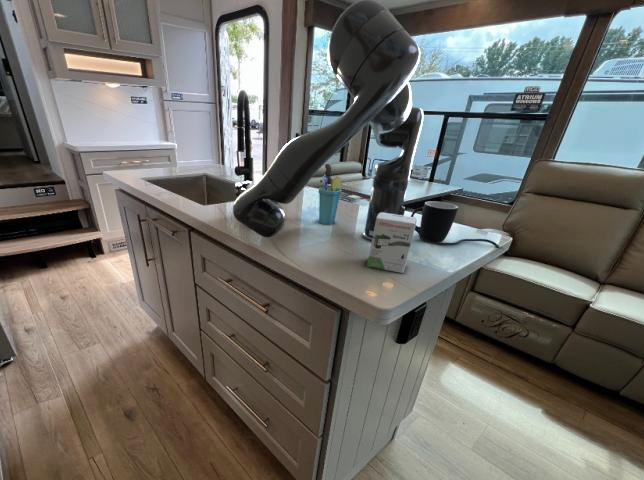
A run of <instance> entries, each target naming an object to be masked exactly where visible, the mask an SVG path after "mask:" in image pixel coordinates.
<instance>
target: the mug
mask: <svg viewBox="0 0 644 480" xmlns="http://www.w3.org/2000/svg"><path fill="white" fill-rule="evenodd" d="M458 210H459V206H458V205H456V204H454V203H450V202H445V201H435V200H434V201H433V200H432V201H431V200H430V201H425V202H424V204H423V206H421V207H418V208H416V209H414V210H413V211H412V213H411V215H410V217H414V216H415V214H416V213H417V212H420V211H422V212H421V213H422V214H421V219H420V226H418V225H416V226H415V228H417V229H418V230H419V231H420V232H421V235H422V237H423V238H424V239H426V240H428V241H431V242H440V243H443V242H444V240H445V239H446V238H447V237H448V235H449V234H450V230H451V229H452V226H453V224H454V221H455V219H456V217H457V213H458Z"/></svg>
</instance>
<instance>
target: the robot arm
mask: <svg viewBox="0 0 644 480" xmlns="http://www.w3.org/2000/svg"><path fill="white" fill-rule="evenodd" d="M420 58H421V50H420V47H419V45H418V44H417V43H416V41H415V40H414V39H413V38H412V36H411V35H410V34H409V33H408V31H407V30H406V29H405V28H404V26H403V25H401V23H400V22H399V21H398V20H397V18H396V17H395V16H394V15H393V13H391V11H390V10H389V8H387V6H385V5H384V4H383V3H382V2H380V1H378V0H357V1H355V2H354V3H352V4H351V5H349V6H348V7H347V8H346V9H345V10H343V12H342V13H341V14H340V15H339V17H338V19H337V20H336V22H335V24H334V25H333V28H332V31H331V33H330V36H329V40H328V45H327V60H328V65H329V67H330V69H331V71H332V72H333V75H334V76H335V78H337V80H338V81H339V82H340V83H341V85H342V86H343V87H344V88H345V89H346V91H347V92H348V93H349V95H350V96H351V97H352V98H353V102H352V103H351V105H350V106H349V107H348V108H347V109H346V111H345V112H344V113H343V114H342V115H340V116H339V117H338V118H336V119H335V120H334V121H332V122H330V123H329V124H326V125H324V126H322V127H319V128H317V129H314V130H311V131H309V132H305V133H303V134H300V135H298V136H297V137H294V138H293V139H291V140H290V141H289V142H288V143H286V144H285V145H284V146H283V147H282V148H281V150H280V151H279V152H278V154H277V156H276V157H275V158H274V160H273V161H272V163H271V164H270V166H269V167H268V168H267V170H266V172H265V173H264V174H263V175H262V176H261V177H257V178H255V179H252V181H250V180H246V181H243V182H242V183H241V182H239V181H236V182H235V197H236V199H235V200H234V202H233V205H232V214H233V217H234V218H235V220H237V221H238V222H239V223H240V224H242V225H244V226H245V227H247V228H248V229H249V230H251V231H253V232H254V233H256V234H257V235H258V236H260V237H263V238H267V239H269V238H274V237H276V236H277V235H278V234H279V233H280V232H281V231H282V229H283V228H284V225H285V221H286V212H285V210H284V208H283V206H282V205H289V204H291V203H292V202H293V201H294V200H295V199H296V198H297V197H298V195H299V194H300V193H301V192H302V191H303V189H304V188H305V187H306V186H307V184H308V183H309V182H310V181H311V180H312V178H313V177H314V176H315V174H317V173H318V171H319V170H320V169H321V168H322V167H323V166H324V165H325V164H326V163H327V162H328V161H329V160H331V158H332V157H334V155H335V154H337V153H338V152H339V151H340V150H341V149H342V148H344V146H346V145H347V144H348V143H349V142H350V141H351V140H352V139H353V138H354V137H356V135H358V133H360V131H361V130H363V128H365V127H366V126H367V125H369V127H370V128H371V130H372V133H373V137H374V139H375V143H376V144H377V145H378V146H379V147H381V148H385V149H399V150H401V153H400V154H399V155H398V156H396V157H393V158H392V159H390V160H386V161H382V162H380V163H377V164H376V165H375V168H374V172H373V178H372V185H371V191H370V197H369V202H368V210H367V214H366V221H365V226H364V232H363V237H364V238H365V239H367V240H369V241H372V238H373V233H374V228H375V223H376V218H377V216H378V214H379V213H389V214H395V215H402V216H405V211H406V207H405V206H404V202H405V199H406V193H407V188H408V185H409V181H410V176H411V170H412V167H413V166H412V165H413V162H414V158H415V157H414V156H415V153H416V149H417V145H418V142H419V138H420V135H421V131H422V127H423V122H424V111H423V109H422V108H421V107H416V106H415V107H414V106H413V95H412V87H411V85H410V82H409V81H410V79H411V78H412V76H413V75H414V73H415V71H416V69H417V67H418V65H419V62H420ZM414 232H416V233H417V234H418V237H419V238H420V240H421V241H423V242H425V243H428V244H432V245H437V246H456V245H459V244H460V243H462V242H485V243H489V244H491V245H493V246H494V247H495V248H496V249H500V246H499V244H498V243H496V242H495V241H493V240H490V239H486V238H463V239H462V238H461V239H459V240H457V241H455V242H454V241H453V242H431V241H428V240H426V239H424V238H423V237H422V235H421V232H420V231H419V230H418V229H417V228H415V230H414Z"/></svg>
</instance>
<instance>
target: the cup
mask: <svg viewBox="0 0 644 480" xmlns="http://www.w3.org/2000/svg"><path fill="white" fill-rule="evenodd" d="M319 182H320V184H321V183H323V182H324V186H321V187H318V194H319V195H318V196H319V197H318V198H319V199H318V201H319V202H318V204H319V205H318V211H319V212H318V223H319V224H322V225H333V224H335V220H336V215H337V211H338V206H339V200H340V196H341V195H342V185H343V182H342V178H341V177H339V176H335V177H333V178H332V179H331V183H330V186H329V184H328V177H327V176H324V177H322V178H321V179H320V180H319Z"/></svg>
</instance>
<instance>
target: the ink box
mask: <svg viewBox="0 0 644 480" xmlns="http://www.w3.org/2000/svg"><path fill="white" fill-rule="evenodd" d="M417 221H418V219H417V217H414V216H413V217H411V216H410V215H409V216H407V215H404V216H402V215H395V214H389V213H379V214H378V216H377V218H376V223H375V228H374V233H373V238H372V240H371V243H370V248H369V254H368V258H367V263H366V266H367V267H369V268H374V269H380V270H385V271H388V272H389V271H390V272H395V273H400V274H404V272H405V268H406V265H407V261H408V257H409V254H410V249H411V247H412V246H411V245H412V243H413V238H414V234H415V226H417Z"/></svg>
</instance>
